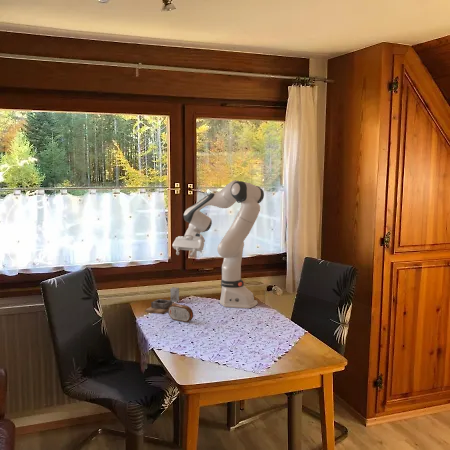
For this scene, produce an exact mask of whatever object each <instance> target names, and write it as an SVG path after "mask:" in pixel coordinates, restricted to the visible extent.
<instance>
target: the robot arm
mask: <svg viewBox="0 0 450 450" xmlns="http://www.w3.org/2000/svg"><path fill="white" fill-rule="evenodd" d="M264 197H265V192H264V190H263V189H262V188H261V187H260V186H259V185H255V184H252V183H251V182H246V181H243V180H237V179H234V180H231V181H230V182H229V183H227V184H226V185H225V186H224V187H223V188H222V189H220V190H219V191H216V192H210V193H209V194H207V195H206V196H204V197H203V198H201V199H200V200H198V201H197V202H196V203H195V204H193V205H191V206H189V207H188V208H186V209H185V211H184V213H183V219H184V221H185V222H186V223H188V228H187V229H186V231H185V233H184V235H183V236H181V235H178V236H177V237H175V239H174V241H173V242H172V246H171V247H172V248H173V249H174V250H176V252H175V254H176V255H177V256H179V255H180V250H181V251H190V253H189V256H190V257H193V256H194V254H196V253H197V252H202V251H203V250H204V247H205V242H206V239H205V238H204V235H203V234H202V233H205V232H208V231H210V229H211V226H212V225H213V223H212V222H213V221H212V218H210V217H209V216H208V215H206V214H205V213H203V212H201V210H202V209H204V208H206V207H207V206H214V207H217V208H220V209H229V208H231V207H232V206H233V205H234V204H235V203H238V204H240V209H239V210H238V212H237V214H236V216H235V217H234V220H233V221H232V223H231V226H230V227H229V229H228V230H227V231H226V233H225V235H223V237H222V239H221V240H220V242H219V244H218V246H217V253H218V255H219V256H220V257H221V258H223V261H222V264H221V280H220V281H221V282H220V286H221V287H220V288H221V293H220V299H219V304H220V305H222V306H223V307H224V308H238V309H239V308H240V309H252V308H254V307H255V306H257V305H258V300H255V297H254V293H253V292H252V291H251V290H250V289H249V288H247V287H246V286H245V284H244V283H245V280H242V267H241V266H242V260H243V252H244V247H245V240H246V238H247V237H248V236H249V234H250V232H251V230H252V229H253V227H254V225H255V223H256V221H257V218H258V216H259V214H260V211H261V206H260V203H261V202H262V201H263V199H264Z"/></svg>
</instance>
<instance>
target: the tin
mask: <svg viewBox="0 0 450 450" xmlns="http://www.w3.org/2000/svg"><path fill="white" fill-rule="evenodd" d="M193 311H194V310H192V308H191V307H190V306H188V305H185V304H179V303H176V304H173V305H171V306H170V307H169V308H168V311H167V312H168V316H169V317H170V318H171V319H172V320H174V321H178V322H184V323H187V322H191V321H192V320H193V318H194V312H193Z"/></svg>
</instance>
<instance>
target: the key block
mask: <svg viewBox="0 0 450 450" xmlns="http://www.w3.org/2000/svg"><path fill="white" fill-rule="evenodd" d="M169 290H170V300H171V301H172V303H174V302H177V303H179V302H180V288H179V287H177V286H176V287H175V286H172V287H170V289H169ZM178 301H179V302H178Z"/></svg>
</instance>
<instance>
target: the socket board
mask: <svg viewBox="0 0 450 450" xmlns="http://www.w3.org/2000/svg"><path fill="white" fill-rule="evenodd" d="M150 303H151V304H150V307H148V308H146V309H145V310H144V312H145V313H150V314H151V313H152V314H159V315H164V314H165V313H167V312H168V308H169V307H170V306H171V305H173V304H177V303H174V302H172V301H171V299H162V298H158V299H155V300H153V301H151V302H150Z"/></svg>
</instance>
